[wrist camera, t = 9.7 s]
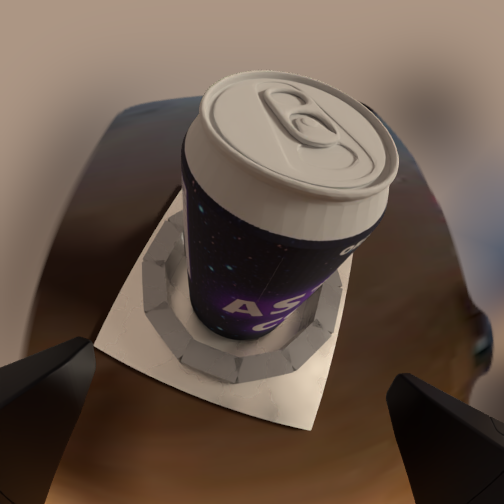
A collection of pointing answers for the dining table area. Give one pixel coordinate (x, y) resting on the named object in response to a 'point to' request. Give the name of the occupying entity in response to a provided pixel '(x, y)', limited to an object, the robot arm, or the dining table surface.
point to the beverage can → (276, 195)
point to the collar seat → (217, 347)
